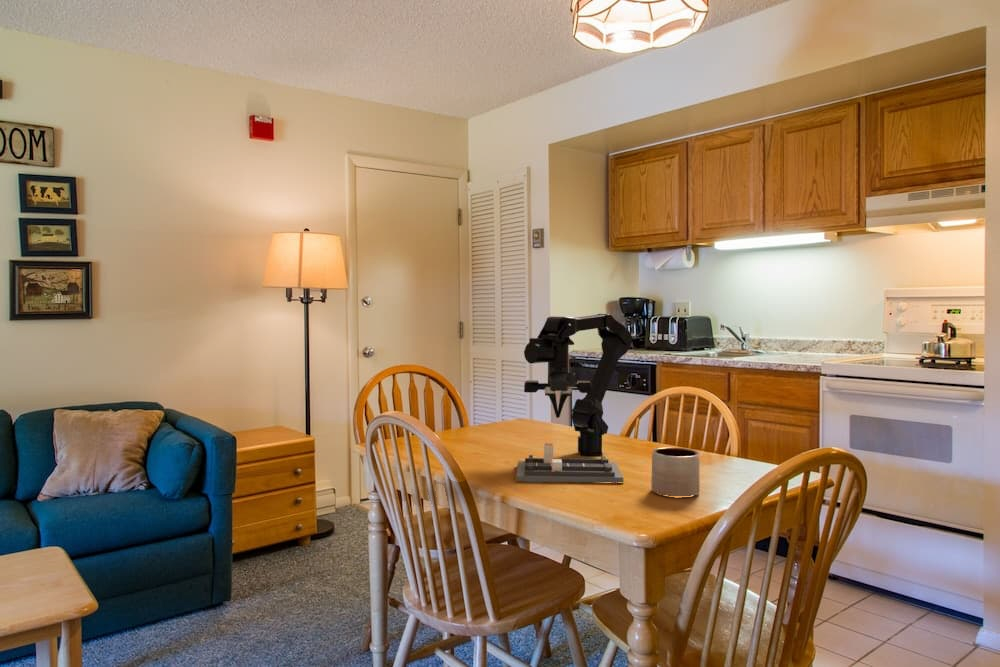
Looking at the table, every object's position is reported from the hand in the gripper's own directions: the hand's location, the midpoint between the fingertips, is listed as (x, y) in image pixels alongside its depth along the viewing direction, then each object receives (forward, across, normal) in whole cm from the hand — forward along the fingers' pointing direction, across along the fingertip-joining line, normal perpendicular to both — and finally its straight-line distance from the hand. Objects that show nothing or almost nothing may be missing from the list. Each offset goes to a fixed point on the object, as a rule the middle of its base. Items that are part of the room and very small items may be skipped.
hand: (557, 417), depth 189 cm
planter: (+12, +26, -31) cm, 42 cm away
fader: (+10, -3, -12) cm, 16 cm away
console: (+12, +2, -16) cm, 20 cm away
